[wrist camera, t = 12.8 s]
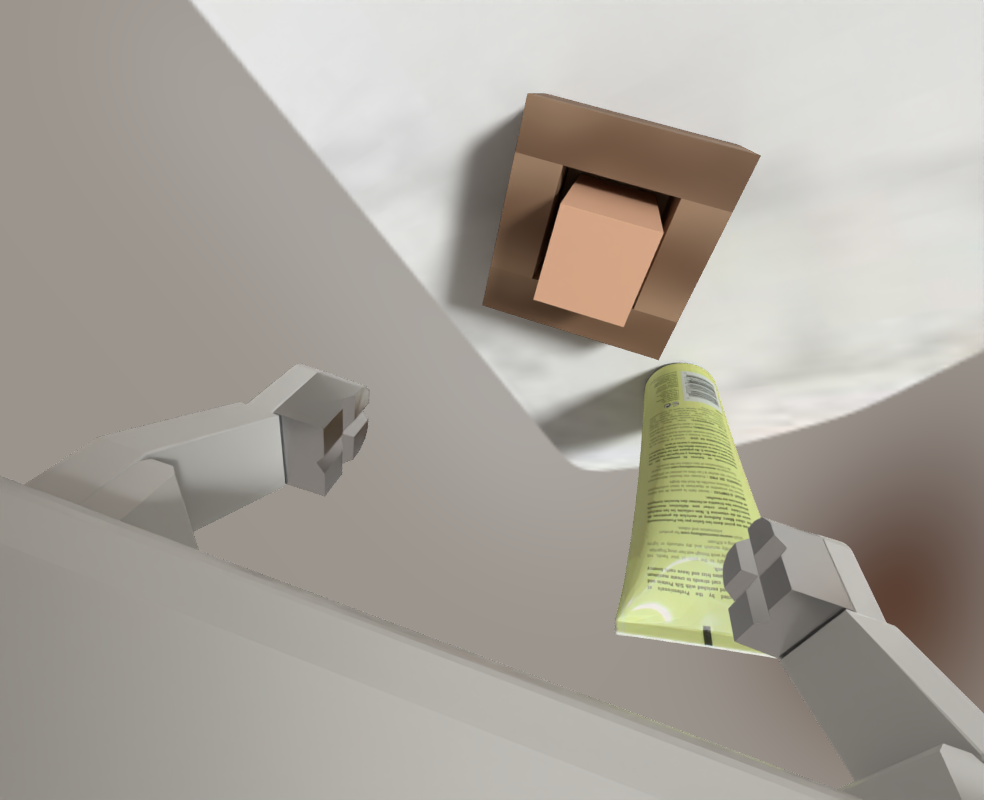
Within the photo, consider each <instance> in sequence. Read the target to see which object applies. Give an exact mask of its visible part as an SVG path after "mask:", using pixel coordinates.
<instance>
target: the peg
mask: <svg viewBox="0 0 984 800" xmlns="http://www.w3.org/2000/svg"><path fill="white" fill-rule="evenodd" d="M663 233H664V232H663V228H662V223H661V219H660V214H659V209H658V205H657V200H656V196H655V195H654V194H650V193H647V192H643V191H640V190H636V189H633V188H629V187H625V186H622V185H618V184H615V183H611V182H608V181H604V180H600V179H597V178H593V177H590V176H586V175H583V174H580V175H579V176H578V178H577V179H576V181H575V183H574V184H573V186H572V187H571V189H570V190H569V192H568V193H567V195H566V196H565V198H564V199H563V201H562V202H561V204H560V207H559V211H558V214H557V218H556V221H555V225H554V228H553V232H552V236H551V239H550V243H549V246H548V250H547V253H546V257H545V260H544V264H543V267H542V271H541V274H540V278H539V281H538V285H537V288H536V292H535V296H534V299H533V300H537V301H540V302H543V303H546V304H550V305H553V306H556V307H559V308H563V309H566V310H569V311H572V312H576V313H579V314H582V315H585V316H589V317H592V318H595V319H599V320H602V321H605V322H608V323H612V324H615V325H618V326H621V327H624V325H625V322H626V320H627V318H628V315H629V313H630V311H631V308H632V306H633V304H634V301H635V299H636V297H637V294H638V292H639V290H640V287H641V285H642V283H643V280H644V278H645V276H646V273H647V271H648V269H649V266H650V264H651V261H652V259H653V257H654V254H655V252H656V250H657V247H658V245H659V243H660V240H661V238H662V236H663Z"/></svg>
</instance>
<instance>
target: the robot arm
mask: <svg viewBox="0 0 984 800" xmlns="http://www.w3.org/2000/svg"><path fill="white" fill-rule="evenodd" d="M368 403H369V389H368V388H367V386H365V385H362V384H359V383H356V382H353V381H350V380H348V379H345V378H342V377H339V376H336V375H334V374H331V373H328V372H325V371H321V370H318V369H316V368H313V367H310V366H307V365H304V364H297V365H294V366H293V367H292V368H290V369H289V370H288V371H287V372H286V373H284V374H283V375H282V376H281V377H279V378H278V379H277V380H276V381H274V382H273V383H272V384H271V385H269V386H268V387H267V388H266V389H264V390H263V391H262V392H261V393H259V394H258V395H257V396H256V397H255V398H253V399H252V400H251V401H250V402H248V403H247V404H244V403H241V402H237V403H233V404H229V405H225V406H221V407H217V408H213V409H208V410H204V411H200V412H197V413H192V414H189V415H185V416H180V417H176V418H172V419H168V420H164V421H160V422H156V423H152V424H148V425H143V426H139V427H135V428H131V429H128V430H123V431H119V432H115V433H111V434H107V435H103V436H99V437H97V438H95V439H94V440H92V441H91V442H89V443H88V444H86V445H84V446H83V447H81V448H80V449H78V450H77V451H75V452H74V453H72V454H70V455H69V456H67V457H66V458H64V459H63V460H61V461H60V462H58V463H57V464H55V465H53V466H52V467H50V468H49V469H47V470H46V471H44V472H43V473H41V474H40V475H38V476H37V477H35V478H34V479H32V480H30V481H29V482H27V483H26V484H21V483H18V482H16V481H13V480H10V479H8V478H5V477H2V476H0V800H984V714H983V713H982V712H981V711H980V710H979V709H978V708H977V707H976V706H975V705H974V704H973V703H972V702H971V701H970V700H969V699H968V698H967V697H966V696H965V695H964V694H963V693H962V692H961V691H960V690H959V689H958V688H957V687H956V686H955V685H954V684H953V683H952V682H951V681H950V680H949V679H948V678H947V677H946V676H945V675H944V674H943V673H942V672H941V671H940V670H939V669H938V668H937V667H936V666H935V665H934V664H933V663H932V662H931V661H930V660H929V659H928V658H927V657H926V656H925V655H924V654H923V653H922V652H921V651H920V650H919V649H918V648H917V647H916V646H915V645H914V644H913V643H912V642H911V641H910V640H909V639H908V638H907V637H906V636H905V635H904V634H903V633H902V632H901V631H900V630H899V629H898V628H897V627H896V626H893V625H890V624H888V623H886V621H885V619H884V617H883V615H882V613H881V611H880V609H879V606H878V604H877V602H876V600H875V598H874V596H873V594H872V592H871V590H870V588H869V586H868V583H867V582H866V579H865V577H864V575H863V573H862V571H861V569H860V567H859V565H858V563H857V560H856V558H855V556H854V554H853V552H852V550H851V549H850V548H849V547H848V546H847V545H846V544H845V543H843V542H840V541H837V540H834V539H831V538H827V537H824V536H821V535H817V534H812V533H809V532H806V531H803V530H800V529H797V528H794V527H791V526H788V525H785V524H782V523H779V522H775V521H772V520H769V519H766V518H763V517H762V518H759V519H757V520H755V521H754V522H753V523H752V524H751V525H750V527H749V528H748V534H749V539H745V540H742V541H739V542H736V543H735V544H734V545H733V546H732V548H731V549H730V550H729V551H728V553H727V555H726V558H725V561H724V564H723V583H724V588H725V589H726V591H727V592H728V593H729V595H730V596H731V598H732V599H733V600H734V602H733V603H732V605H731V606H730V607H729V608H728V611H729V616H730V621H731V626H732V632H733V637H734V642H736V643H739V644H742V645H744V646H747V647H749V648H752V649H755V650H757V651H760V652H762V653H765V654H768V655H770V656H773V657H775V658H778V659H781V660H780V661H779V662H780V663H781V665H782V667H783V668H784V670H785V671H786V673H787V675H788V676H789V678H790V679H791V681H792V682H793V684H794V686H795V687H796V689H797V690H798V692H799V693H800V695H801V697H802V698H803V700H804V701H805V703H806V705H807V706H808V708H809V709H810V711H811V713H812V714H813V716H814V717H815V719H816V720H817V722H818V724H819V725H820V727H821V728H822V730H823V731H824V733H825V735H826V736H827V738H828V739H829V741H830V743H831V744H832V746H833V747H834V749H835V750H836V752H837V754H838V755H839V757H840V758H841V760H842V762H843V763H844V765H845V766H846V768H847V769H848V771H849V773H850V774H851V776H852V777H853V779H854V781H855V782H853V783H850V784H848V785H846V786H843V787H841V788H839V789H835V788H833V787H830V786H827V785H825V784H822V783H819V782H817V781H814V780H811V779H809V778H806V777H803V776H801V775H798V774H795V773H793V772H790V771H787V770H785V769H782V768H779V767H777V766H774V765H771V764H769V763H766V762H763V761H761V760H758V759H755V758H753V757H750V756H747V755H744V754H742V753H739V752H737V751H734V750H731V749H728V748H726V747H723V746H720V745H718V744H715V743H712V742H710V741H707V740H705V739H702V738H699V737H697V736H693V735H691V734H689V733H686V732H683V731H680V730H678V729H675V728H672V727H670V726H667V725H664V724H662V723H659V722H656V721H654V720H651V719H648V718H646V717H643V716H640V715H638V714H635V713H632V712H630V711H627V710H624V709H622V708H619V707H616V706H614V705H611V704H608V703H606V702H603V701H600V700H597V699H595V698H592V697H590V696H587V695H584V694H582V693H579V692H576V691H574V690H571V689H568V688H565V687H563V686H560V685H558V684H555V683H552V682H550V681H547V680H544V679H542V678H539V677H536V676H533V675H531V674H528V673H525V672H523V671H520V670H517V669H515V668H512V667H509V666H506V665H504V664H501V663H499V662H496V661H493V660H490V659H488V658H485V657H483V656H480V655H477V654H475V653H472V652H469V651H467V650H464V649H461V648H459V647H456V646H453V645H451V644H448V643H445V642H442V641H439V640H437V639H434V638H432V637H429V636H426V635H424V634H421V633H418V632H416V631H413V630H410V629H408V628H405V627H402V626H400V625H397V624H394V623H392V622H389V621H386V620H383V619H381V618H378V617H376V616H373V615H370V614H368V613H365V612H362V611H360V610H357V609H354V608H351V607H349V606H346V605H344V604H341V603H338V602H336V601H333V600H330V599H328V598H325V597H322V596H320V595H317V594H314V593H312V592H309V591H306V590H303V589H301V588H298V587H296V586H293V585H290V584H288V583H285V582H282V581H280V580H277V579H274V578H271V577H269V576H266V575H263V574H261V573H258V572H255V571H253V570H250V569H248V568H245V567H242V566H239V565H237V564H234V563H231V562H229V561H226V560H224V559H221V558H218V557H216V556H213V555H210V554H208V553H205V552H202V551H200V550H199V549H198V545H197V542H196V539H195V536H194V531H196V530H198V529H200V528H202V527H204V526H206V525H208V524H210V523H212V522H214V521H216V520H218V519H220V518H222V517H224V516H226V515H228V514H230V513H232V512H234V511H236V510H238V509H240V508H242V507H244V506H246V505H248V504H250V503H252V502H254V501H256V500H258V499H260V498H262V497H264V496H266V495H268V494H270V493H272V492H274V491H276V490H278V489H280V488H282V487H284V486H285V484H288V485H291V486H294V487H297V488H301V489H304V490H307V491H310V492H313V493H316V494H319V495H322V496H325V495H326V494H327V493H328V492H329V490H330V489H331V488H332V486H333V485H334V484H335V482H336V481H337V480H338V479H339V477H340V476H341V475H342V464H343V463H345V462H348V461H350V460H353V459H354V457H355V456H356V454H357V453H358V451H359V450H360V448H361V446H362V444H363V442H364V440H365V436H366V433H367V428H368V418H367V416H366V414H365V413H364V411H363V410H364V408H365V407H366V406H367V405H368Z"/></svg>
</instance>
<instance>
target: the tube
mask: <svg viewBox="0 0 984 800" xmlns="http://www.w3.org/2000/svg"><path fill="white" fill-rule="evenodd" d="M759 518H761V517H760V514H759V512H758V509H757V506H756V504H755V501H754V498H753V495H752V493H751V490H750V487H749V484H748V482H747V479H746V476H745V473H744V471H743V468H742V465H741V462H740V459H739V456H738V453H737V450H736V447H735V444H734V441H733V438H732V435H731V432H730V429H729V425H728V422H727V419H726V416H725V413H724V409H723V406H722V403H721V400H720V396H719V393H718V389H717V386H716V384H715V381H714V379H713V377H712V376H711V375H710V374H709V373H708V372H707V371H706V370H704V369H703V368H701V367H699V366H696V365H693V364H687V363H677V364H671V365H667V366H665V367H663V368H661V369H659V370H657V371H656V372H655V373H654V374H653V375H652V376H651V377H650V378H649V380H648V381H647V383H646V386H645V392H644V410H643V427H642V441H641V454H640V466H639V477H638V487H637V496H636V506H635V513H634V521H633V528H632V536H631V542H630V549H629V555H628V561H627V567H626V573H625V579H624V585H623V590H622V594H621V599H620V603H619V607H618V611H617V614H616V618H615V633H616V634H617V635H625V636H633V637H642V638H648V639H656V640H662V641H668V642H675V643H682V644H688V645H696V646H703V647H710V648H716V649H723V650H729V651H734V652H741V653H747V654H754V655H761V656H767V657H773V656H770V655H768V654H765V653H762V652H760V651H757V650H755V649H752V648H749V647H747V646H744V645H742V644H739V643H736V642H734V637H733V632H732V626H731V621H730V616H729V611H728V608H729V607H730V606H731V605H732V603H733V602H734V600H733V599H732V598H731V596H730V595H729V593H728V592H727V591H726V589H725V588H724V583H723V564H724V561H725V558H726V555H727V553H728V551H729V550H730V549H731V548H732V546H733V545H734V544H735V543H736V542H739V541H742V540H745V539H749V534H748V528H749V527H750V525H751V524H752V523H753V522H754V521H755V520H757V519H759ZM773 658H775V657H773Z"/></svg>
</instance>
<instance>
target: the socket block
mask: <svg viewBox="0 0 984 800" xmlns="http://www.w3.org/2000/svg"><path fill="white" fill-rule="evenodd" d="M759 158H760V155H758V154H756V153H754V152H752V151H750V150H748V149H746V148H744V147H742V146H740V145H737V144H733V143H730V142H726V141H722V140H718V139H715V138H711V137H707V136H703V135H700V134H696V133H692V132H688V131H685V130H681V129H677V128H673V127H670V126H666V125H662V124H658V123H655V122H651V121H647V120H643V119H640V118H636V117H632V116H628V115H624V114H621V113H617V112H613V111H609V110H606V109H602V108H598V107H594V106H591V105H587V104H583V103H579V102H576V101H572V100H568V99H564V98H561V97H557V96H553V95H549V94H545V93H528V94H527V98H526V103H525V108H524V112H523V117H522V122H521V127H520V131H519V136H518V141H517V145H516V150H515V155H514V159H513V164H512V169H511V173H510V178H509V183H508V188H507V192H506V197H505V202H504V206H503V211H502V216H501V220H500V225H499V230H498V234H497V239H496V244H495V248H494V253H493V258H492V263H491V267H490V272H489V277H488V281H487V286H486V291H485V295H484V300H483V306H486V307H490V308H493V309H496V310H499V311H503V312H506V313H509V314H512V315H515V316H519V317H522V318H525V319H528V320H532V321H535V322H538V323H541V324H544V325H548V326H551V327H554V328H557V329H560V330H564V331H567V332H570V333H573V334H577V335H580V336H583V337H586V338H589V339H593V340H596V341H599V342H602V343H606V344H609V345H612V346H615V347H618V348H622V349H625V350H628V351H631V352H635V353H638V354H641V355H644V356H647V357H651V358H654V359H657V360H659V358H660V356H661V354H662V352H663V350H664V348H665V346H666V344H667V342H668V340H669V338H670V336H671V334H672V332H673V330H674V328H675V326H676V324H677V322H678V320H679V318H680V316H681V314H682V312H683V310H684V308H685V306H686V304H687V302H688V300H689V298H690V296H691V294H692V292H693V290H694V288H695V286H696V284H697V282H698V280H699V278H700V276H701V274H702V272H703V270H704V268H705V266H706V264H707V262H708V260H709V258H710V256H711V254H712V252H713V250H714V248H715V246H716V244H717V242H718V240H719V238H720V236H721V234H722V232H723V230H724V228H725V226H726V224H727V222H728V220H729V218H730V216H731V214H732V212H733V210H734V208H735V206H736V204H737V202H738V200H739V198H740V196H741V194H742V192H743V190H744V188H745V186H746V184H747V182H748V180H749V178H750V176H751V174H752V172H753V170H754V168H755V166H756V164H757V162H758V160H759ZM580 174H583V175H586V176H590V177H593V178H597V179H600V180H604V181H608V182H611V183H615V184H618V185H622V186H625V187H629V188H633V189H636V190H640V191H643V192H647V193H650V194H654V195H655V196H656V200H657V205H658V209H659V214H660V219H661V223H662V228H663V232H664V233H663V236H662V238H661V240H660V243H659V245H658V247H657V250H656V252H655V254H654V257H653V259H652V261H651V264H650V266H649V269H648V271H647V273H646V276H645V278H644V280H643V283H642V285H641V287H640V290H639V292H638V294H637V297H636V299H635V301H634V304H633V306H632V308H631V311H630V313H629V315H628V318H627V320H626V322H625V325H624V327H621V326H618V325H615V324H612V323H608V322H605V321H602V320H599V319H595V318H592V317H589V316H585V315H582V314H579V313H576V312H572V311H569V310H566V309H563V308H559V307H556V306H553V305H550V304H546V303H543V302H540V301H537V300H533V299H534V296H535V292H536V288H537V285H538V281H539V278H540V274H541V271H542V267H543V264H544V260H545V257H546V253H547V250H548V246H549V243H550V239H551V236H552V232H553V228H554V225H555V221H556V218H557V214H558V211H559V207H560V204H561V202H562V201H563V199H564V198H565V196H566V195H567V193H568V192H569V190H570V189H571V187H572V186H573V184H574V183H575V181H576V179H577V178H578V176H579V175H580Z"/></svg>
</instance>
